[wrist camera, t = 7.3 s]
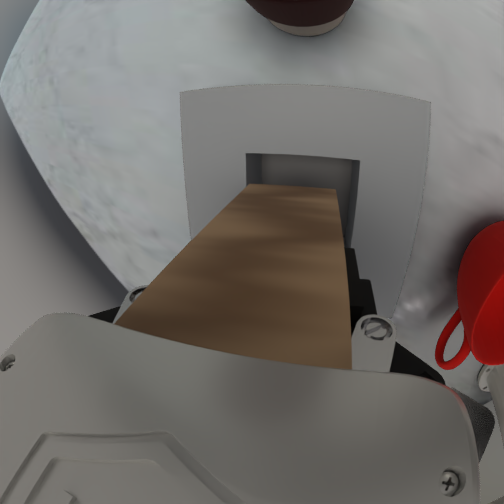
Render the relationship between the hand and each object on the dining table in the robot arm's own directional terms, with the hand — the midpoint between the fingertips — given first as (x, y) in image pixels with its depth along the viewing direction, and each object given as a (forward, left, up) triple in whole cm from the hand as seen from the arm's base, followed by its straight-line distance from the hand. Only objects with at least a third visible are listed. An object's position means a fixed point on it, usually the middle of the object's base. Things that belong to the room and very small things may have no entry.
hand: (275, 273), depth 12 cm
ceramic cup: (-20, +6, -15) cm, 26 cm away
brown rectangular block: (0, 0, -5) cm, 5 cm away
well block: (0, 0, -15) cm, 15 cm away
